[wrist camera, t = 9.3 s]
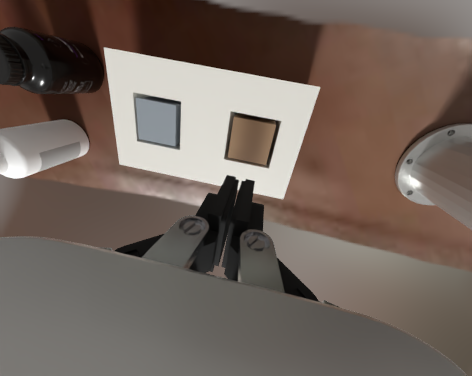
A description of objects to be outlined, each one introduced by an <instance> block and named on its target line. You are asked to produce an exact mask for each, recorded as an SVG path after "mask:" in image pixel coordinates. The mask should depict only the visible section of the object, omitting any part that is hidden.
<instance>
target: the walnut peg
mask: <svg viewBox="0 0 472 376" xmlns="http://www.w3.org/2000/svg"><path fill="white" fill-rule="evenodd" d="M275 128H276V122H275V120H273V119H268V118H263V117H258V116H253V115H248V114H242V113H238V114H236V115H235V116H234V119H233V125H232V132H231V139H230V145H229V152H228V157H229V158H234V159H239V160H243V161H248V162H253V163H258V164H263V165H266V163H267V159H268V155H269V151H270V148H271V144H272V140H273V136H274V132H275Z"/></svg>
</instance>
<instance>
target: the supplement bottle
mask: <svg viewBox="0 0 472 376" xmlns="http://www.w3.org/2000/svg"><path fill="white" fill-rule="evenodd" d="M102 83H103V69H102V66H101V63H100V61H99V59H98V58H97V56H96V55H95V54H94V52H93V51H92V50H91V49H90V48H88V47H87V46H85V45H84V44H82V43H79V42H75V41H72V40H68V39H64V38H60V37H56V36H52V35H48V34H44V33H40V32H35V31H31V30H27V29H23V28H19V27H7V28H4V29H2V30H1V31H0V84H2V85H12V86H20V87H21V88H23V89H25V90H27V91H29V92H32V93H36V94H75V93H93V92H96V91H97V90H99V89H100V87H101V86H102Z"/></svg>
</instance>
